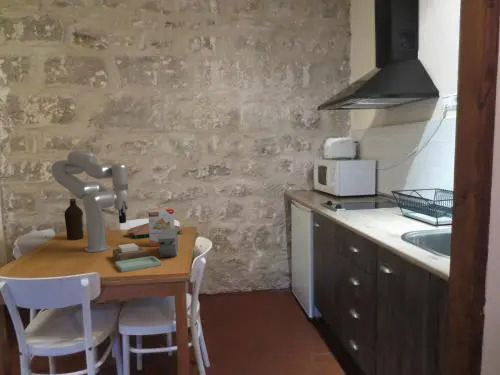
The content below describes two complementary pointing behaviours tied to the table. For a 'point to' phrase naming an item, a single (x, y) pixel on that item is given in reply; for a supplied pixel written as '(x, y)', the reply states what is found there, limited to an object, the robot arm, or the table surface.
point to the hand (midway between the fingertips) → (122, 222)
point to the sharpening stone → (168, 242)
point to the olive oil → (74, 221)
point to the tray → (137, 263)
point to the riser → (129, 254)
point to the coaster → (127, 247)
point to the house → (145, 230)
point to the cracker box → (159, 223)
